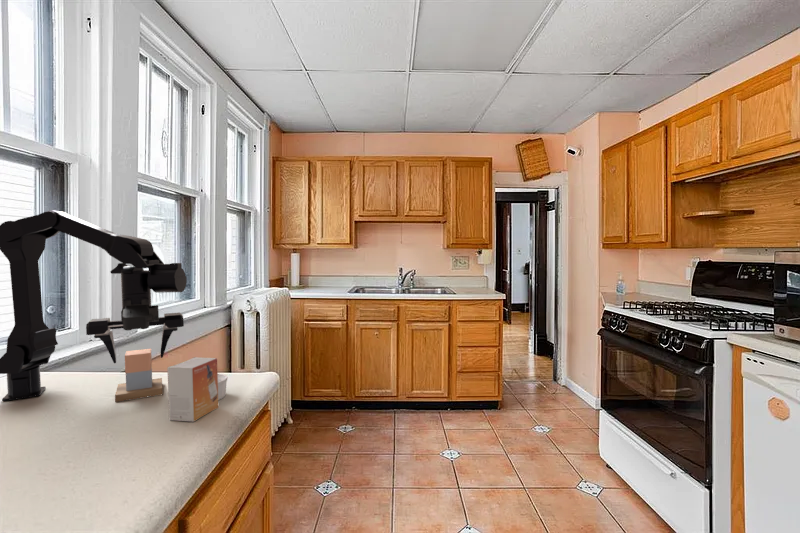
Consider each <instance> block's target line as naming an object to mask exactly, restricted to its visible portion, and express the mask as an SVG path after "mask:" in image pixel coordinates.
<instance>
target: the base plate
mask: <svg viewBox="0 0 800 533" xmlns="http://www.w3.org/2000/svg"><path fill="white" fill-rule="evenodd" d="M163 393H164V392H163V378H162V377H159V378H154V379H153V378H152V387H151V388H144V389H137V390H130V391H126V382H123V383H118V384H117V387H116V390H115V395H114V399H115V401H114V402H115V403H117V402H124V400H125V401H130V400H129V399H131V400H137V398H138V399H143V397H144V398H148V397H147V396H151V397H155V395H157V396H162V395H161V394H163Z"/></svg>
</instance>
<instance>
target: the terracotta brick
mask: <svg viewBox="0 0 800 533" xmlns="http://www.w3.org/2000/svg"><path fill="white" fill-rule="evenodd" d="M152 362H153V357H152V348H146V349H145V348H144V349H134V350H126V351H125V354H124V368H125V369H124V372H125V374H126V373H133V372H141V371H149V370H151V368H152V367H153V364H152ZM152 369H153V368H152Z"/></svg>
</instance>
